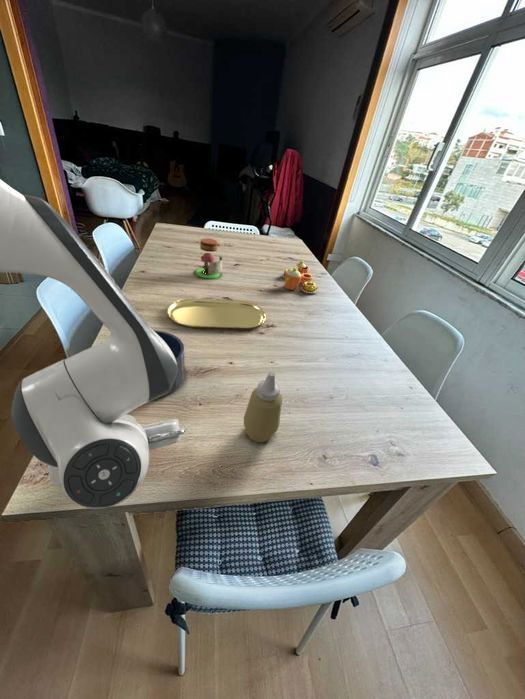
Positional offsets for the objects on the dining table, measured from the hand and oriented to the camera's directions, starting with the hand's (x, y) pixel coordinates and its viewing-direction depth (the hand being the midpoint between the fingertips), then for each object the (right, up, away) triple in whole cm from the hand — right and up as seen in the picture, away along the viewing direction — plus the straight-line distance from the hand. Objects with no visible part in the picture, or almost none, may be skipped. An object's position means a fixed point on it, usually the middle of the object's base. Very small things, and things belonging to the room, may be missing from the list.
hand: (122, 436), depth 57 cm
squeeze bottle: (+26, -2, +11) cm, 29 cm away
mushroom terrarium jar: (+2, +51, +78) cm, 93 cm away
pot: (-2, +10, +20) cm, 23 cm away
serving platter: (+11, +29, +50) cm, 58 cm away
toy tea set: (+44, +49, +85) cm, 108 cm away
